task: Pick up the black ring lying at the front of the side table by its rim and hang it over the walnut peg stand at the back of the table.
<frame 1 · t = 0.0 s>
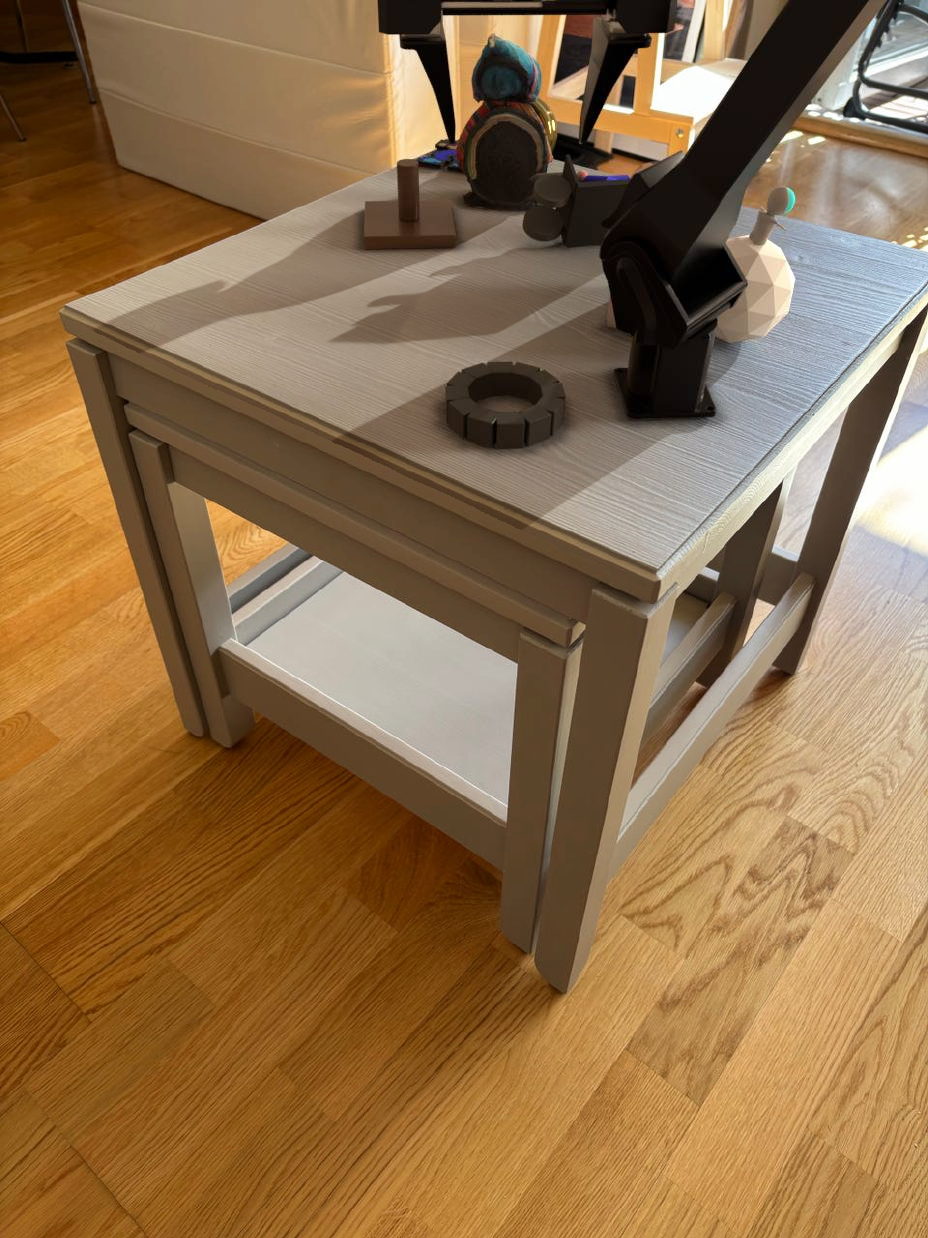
hand: (517, 141, 68), 15 cm above the table, tool pointing down, fingers open, 9 cm apart
ring: (504, 415, 69), on the table
figurine: (502, 200, 99), on the table
electronic device: (649, 314, 81), on the table
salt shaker: (515, 135, 98), point 5 cm above the table
perfume bottle: (714, 338, 78), on the table
character figurine: (599, 241, 91), on the table
stand: (409, 229, 93), on the table
pixel art figurine: (440, 167, 104), on the table
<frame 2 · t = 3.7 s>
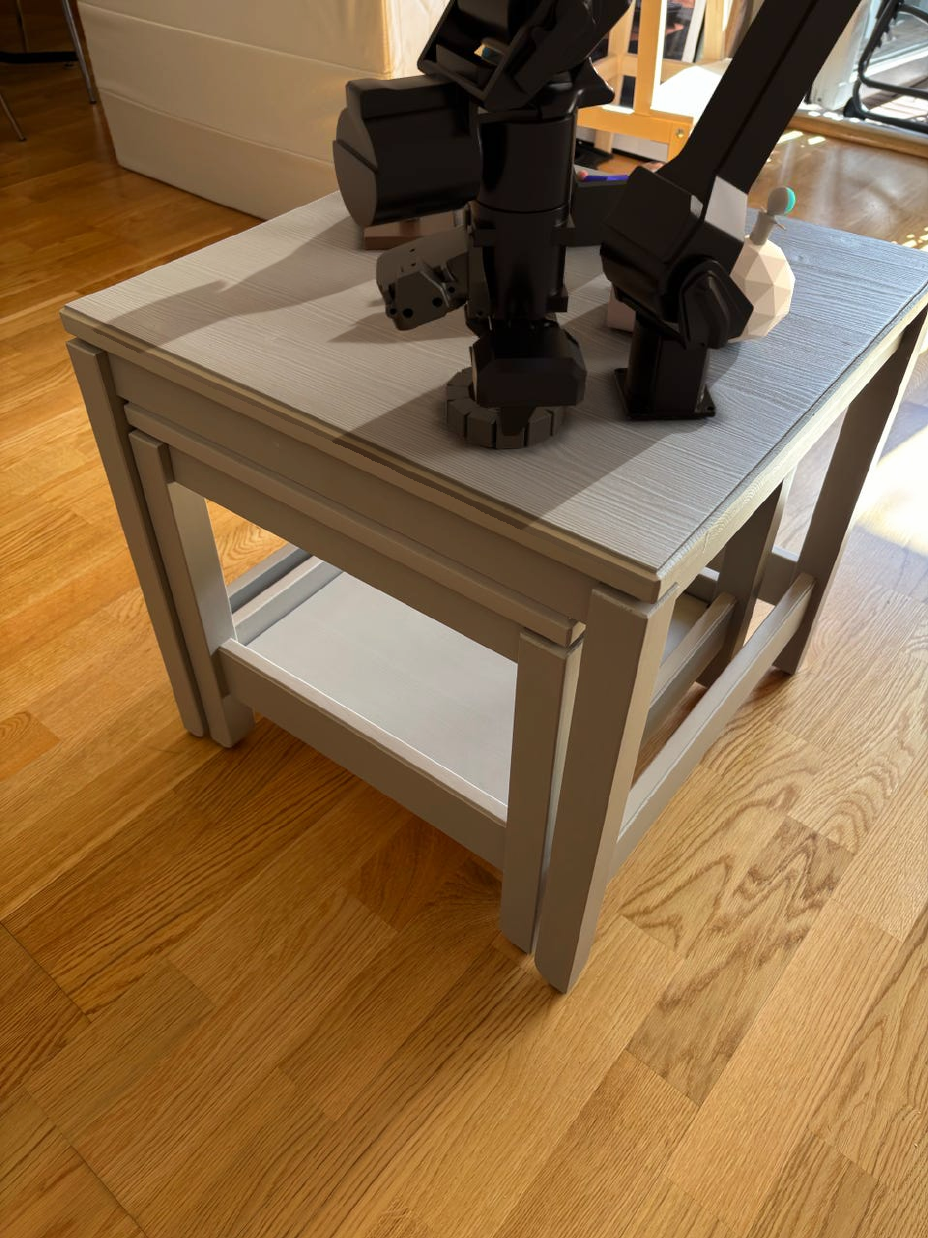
hand: (509, 426, 66), 1 cm above the table, tool pointing down, fingers closed on ring, 2 cm apart
ring: (504, 415, 69), on the table, touching gripper
everything else where it was.
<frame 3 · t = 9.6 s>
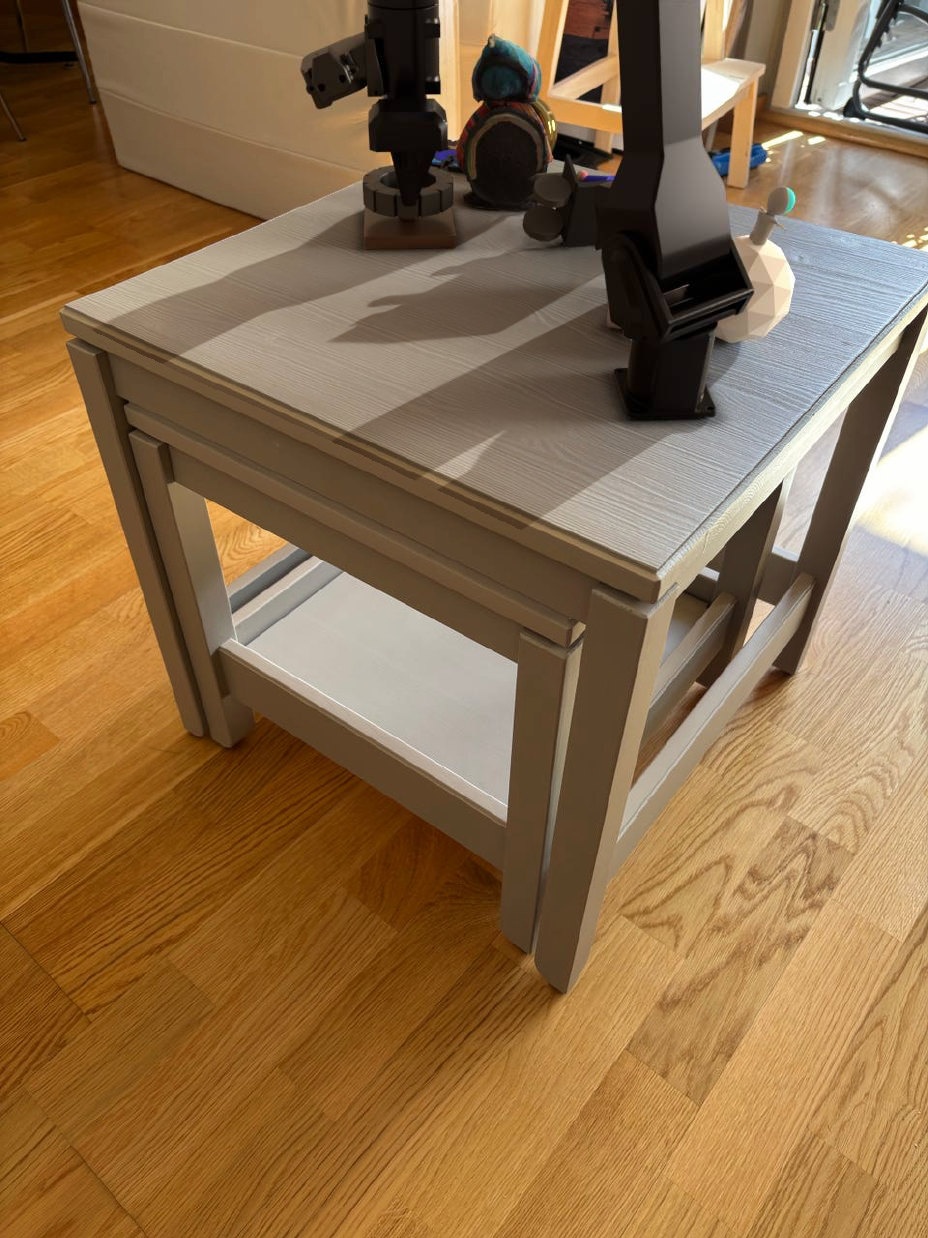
hand: (408, 201, 87), 4 cm above the table, tool pointing down, fingers closed on ring, 2 cm apart
ring: (408, 201, 91), point 3 cm above the table, touching gripper
everything else where it was.
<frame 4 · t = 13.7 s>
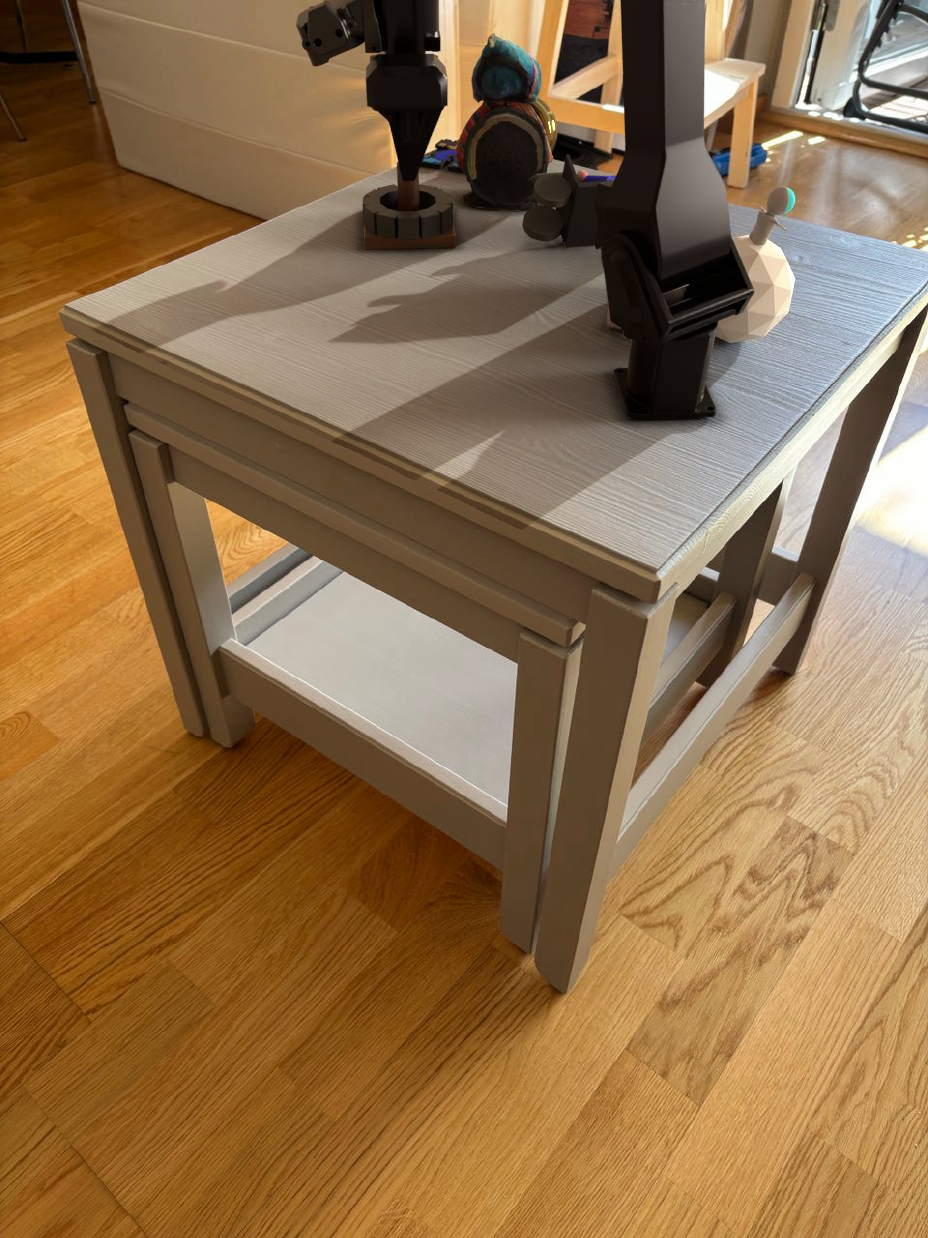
hand: (407, 164, 85), 7 cm above the table, tool pointing down, fingers open, 7 cm apart
ring: (408, 221, 91), point 1 cm above the table, touching stand
everything else where it was.
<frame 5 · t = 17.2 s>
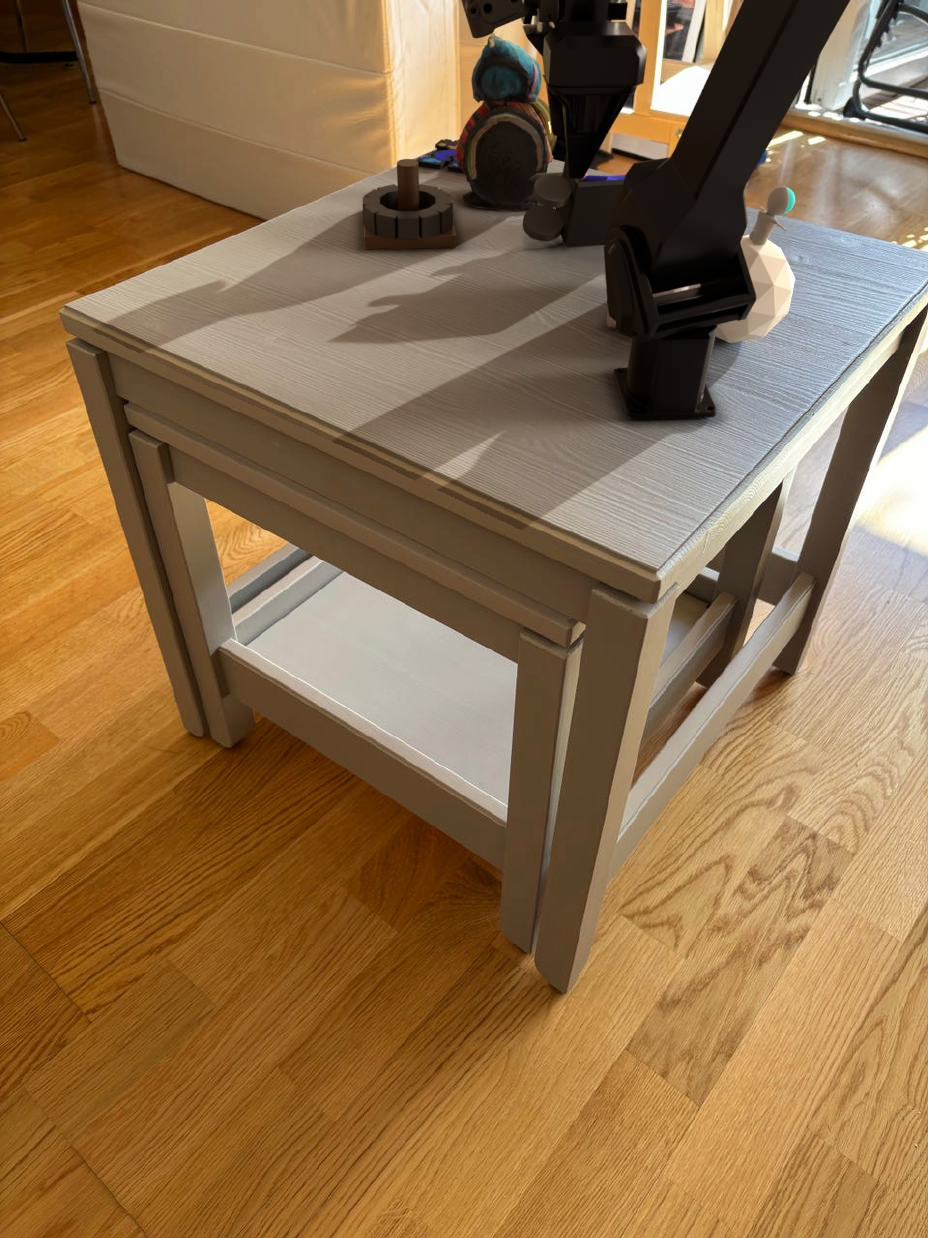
hand: (567, 155, 73), 12 cm above the table, tool pointing down, fingers open, 9 cm apart
nothing on the table moved.
at the end: ring 1.0 cm from the stand (horizontally); ring point 1.2 cm above the table; the gripper is holding nothing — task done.
